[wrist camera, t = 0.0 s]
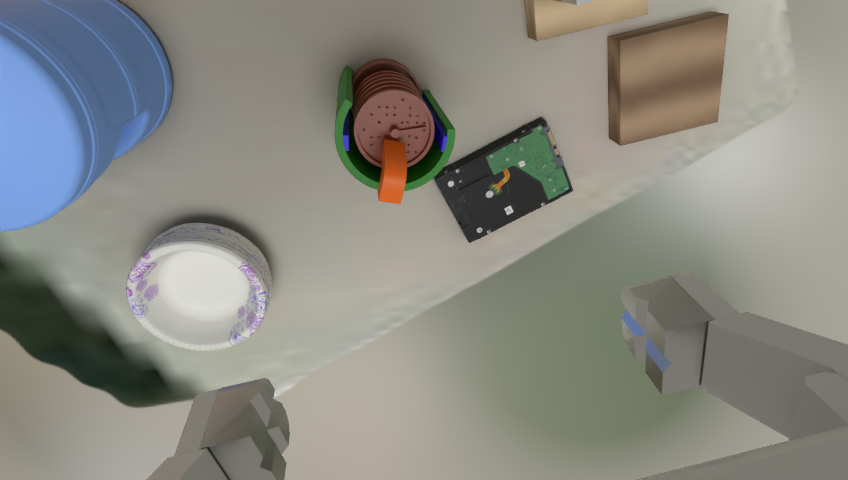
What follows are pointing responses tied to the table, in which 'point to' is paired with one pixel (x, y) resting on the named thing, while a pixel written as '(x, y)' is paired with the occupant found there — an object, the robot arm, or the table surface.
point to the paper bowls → (200, 287)
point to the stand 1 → (577, 15)
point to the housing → (575, 1)
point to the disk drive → (504, 180)
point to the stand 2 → (665, 77)
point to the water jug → (71, 99)
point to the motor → (390, 129)
